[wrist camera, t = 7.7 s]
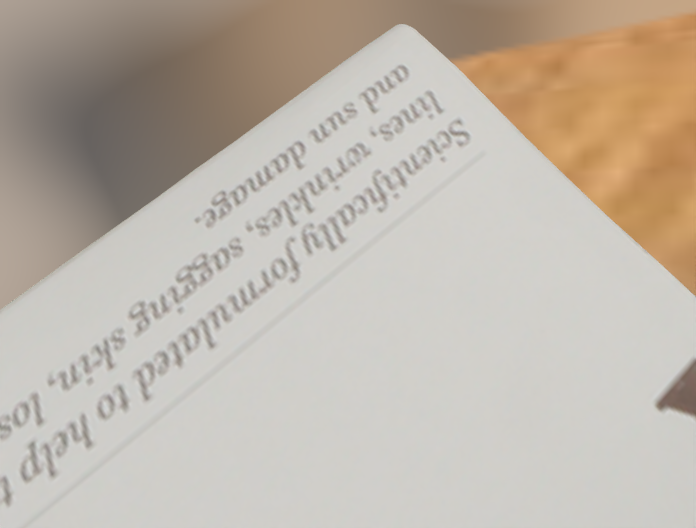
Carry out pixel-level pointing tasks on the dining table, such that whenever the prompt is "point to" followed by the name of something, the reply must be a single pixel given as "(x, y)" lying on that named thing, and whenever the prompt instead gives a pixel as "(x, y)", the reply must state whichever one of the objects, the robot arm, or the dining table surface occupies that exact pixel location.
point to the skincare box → (356, 335)
